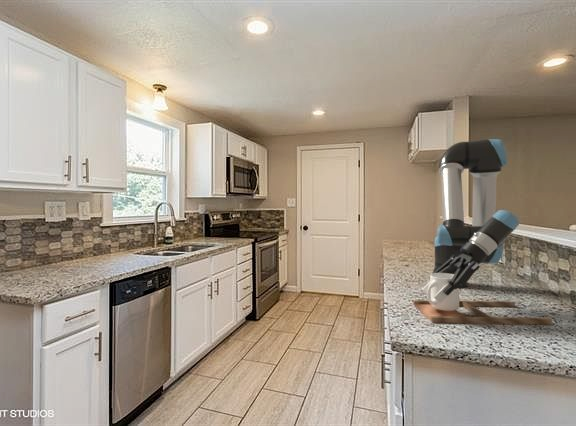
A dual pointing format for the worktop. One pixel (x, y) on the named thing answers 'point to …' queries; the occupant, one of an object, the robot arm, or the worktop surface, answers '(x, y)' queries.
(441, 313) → the flat wooden frame
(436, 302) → the mug
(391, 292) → the worktop surface
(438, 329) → the worktop surface
